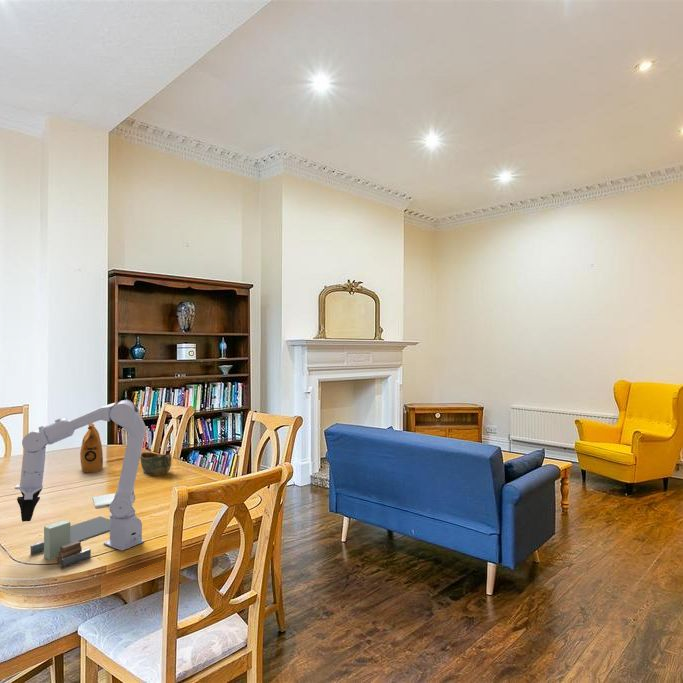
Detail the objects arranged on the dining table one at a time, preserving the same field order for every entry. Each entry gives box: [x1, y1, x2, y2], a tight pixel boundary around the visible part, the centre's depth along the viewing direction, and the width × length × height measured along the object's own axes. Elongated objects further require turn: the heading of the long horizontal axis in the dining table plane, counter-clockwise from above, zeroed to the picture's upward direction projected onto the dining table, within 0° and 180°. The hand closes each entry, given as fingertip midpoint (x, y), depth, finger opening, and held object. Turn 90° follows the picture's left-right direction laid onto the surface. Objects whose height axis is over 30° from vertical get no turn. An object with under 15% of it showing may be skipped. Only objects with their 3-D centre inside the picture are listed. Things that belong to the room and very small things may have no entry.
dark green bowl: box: [140, 451, 172, 477], centre depth 233 cm, size 13×20×10 cm, turn 25°
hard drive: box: [92, 493, 116, 509], centre depth 192 cm, size 2×8×12 cm
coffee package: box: [79, 423, 104, 474], centre depth 238 cm, size 10×12×22 cm
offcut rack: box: [30, 540, 92, 570], centre depth 144 cm, size 17×8×2 cm, turn 58°
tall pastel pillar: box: [43, 519, 71, 561], centre depth 145 cm, size 3×6×9 cm, turn 148°
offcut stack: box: [56, 541, 83, 566], centre depth 141 cm, size 2×6×5 cm, turn 148°
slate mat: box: [70, 516, 110, 543], centre depth 164 cm, size 14×18×1 cm
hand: (27, 516), depth 146 cm, fingers open, 7 cm apart
